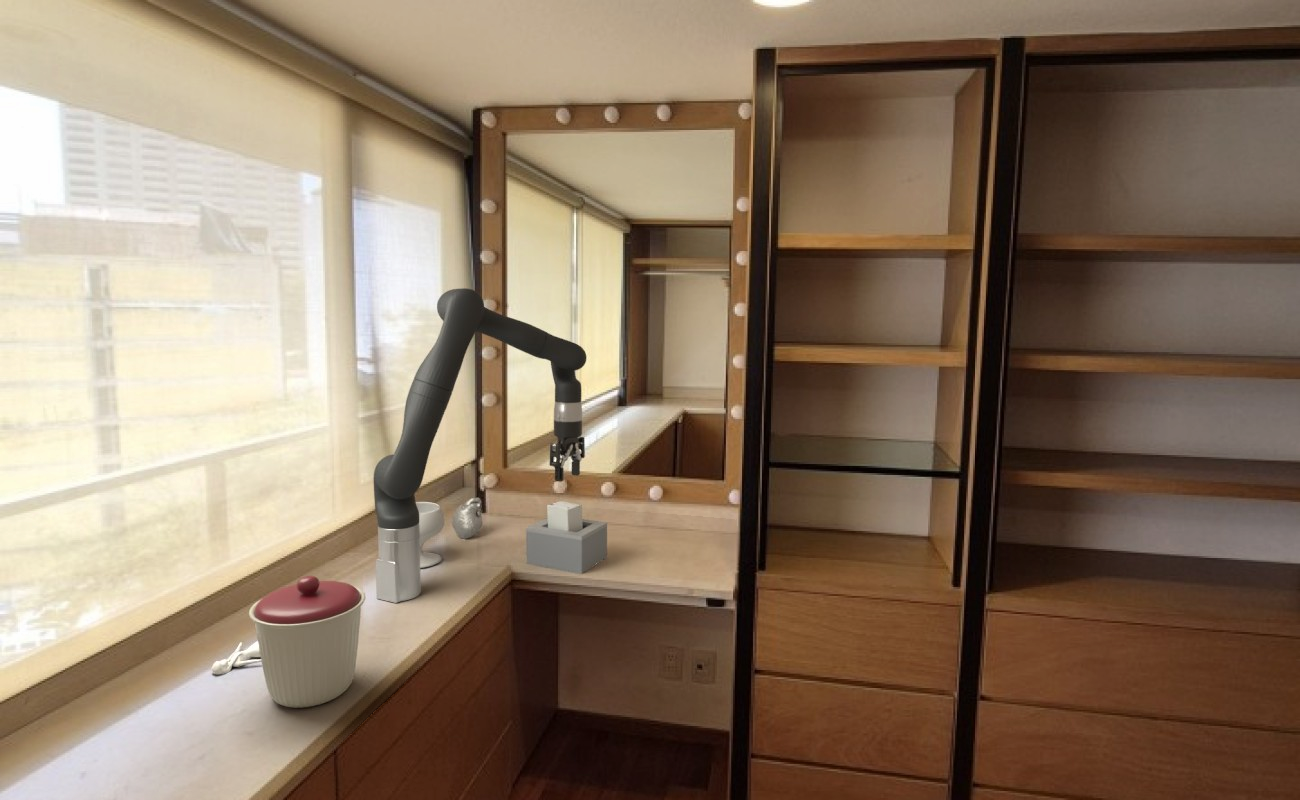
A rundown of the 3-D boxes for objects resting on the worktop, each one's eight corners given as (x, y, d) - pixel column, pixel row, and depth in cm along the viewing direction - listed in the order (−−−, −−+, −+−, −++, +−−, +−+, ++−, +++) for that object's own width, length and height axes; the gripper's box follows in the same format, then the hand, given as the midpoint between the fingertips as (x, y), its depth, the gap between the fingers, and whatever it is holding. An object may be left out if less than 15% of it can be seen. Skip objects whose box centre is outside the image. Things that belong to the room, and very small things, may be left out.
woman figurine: (319, 624, 141) (228, 668, 126) (322, 645, 142) (232, 691, 127) (284, 611, 147) (193, 652, 132) (286, 631, 148) (196, 674, 133)
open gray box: (581, 574, 183) (581, 536, 182) (526, 563, 190) (526, 527, 189) (606, 557, 196) (607, 522, 195) (554, 548, 203) (554, 514, 202)
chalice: (379, 567, 185) (377, 512, 183) (410, 551, 198) (409, 498, 197) (426, 573, 181) (424, 517, 180) (455, 556, 195) (454, 503, 193)
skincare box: (584, 558, 192) (584, 504, 190) (568, 563, 187) (568, 509, 186) (562, 551, 197) (562, 499, 196) (546, 556, 193) (546, 503, 191)
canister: (314, 730, 113) (308, 604, 110) (228, 708, 119) (221, 588, 116) (389, 677, 130) (386, 566, 127) (311, 660, 136) (307, 554, 133)
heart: (450, 530, 217) (449, 494, 214) (481, 527, 220) (481, 492, 216) (451, 545, 208) (450, 508, 204) (484, 542, 211) (484, 506, 207)
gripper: (566, 422, 180) (565, 485, 182) (593, 416, 193) (592, 474, 195) (541, 420, 183) (541, 481, 185) (569, 414, 196) (569, 471, 198)
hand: (567, 478), depth 190 cm, fingers open, 8 cm apart
